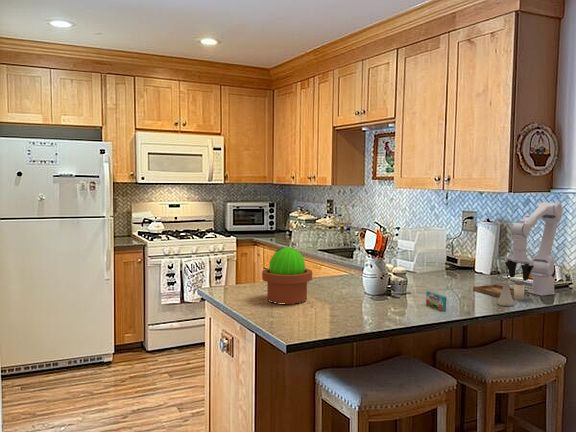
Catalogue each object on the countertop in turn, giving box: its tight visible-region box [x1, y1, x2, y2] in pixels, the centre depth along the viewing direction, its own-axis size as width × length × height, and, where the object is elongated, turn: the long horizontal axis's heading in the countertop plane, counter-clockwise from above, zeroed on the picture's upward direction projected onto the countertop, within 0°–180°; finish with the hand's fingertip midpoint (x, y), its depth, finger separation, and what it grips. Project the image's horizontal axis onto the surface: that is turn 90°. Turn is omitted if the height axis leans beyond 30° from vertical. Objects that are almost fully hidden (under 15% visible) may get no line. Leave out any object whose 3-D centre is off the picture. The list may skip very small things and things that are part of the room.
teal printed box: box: [425, 290, 447, 312], centre depth 220 cm, size 12×2×6 cm, turn 20°
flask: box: [496, 281, 515, 307], centre depth 226 cm, size 7×7×10 cm
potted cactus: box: [261, 246, 313, 305], centre depth 232 cm, size 22×22×25 cm
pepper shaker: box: [513, 280, 525, 301], centre depth 236 cm, size 4×4×8 cm
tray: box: [473, 284, 514, 298], centre depth 250 cm, size 15×15×2 cm
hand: (518, 278), depth 236 cm, fingers open, 7 cm apart
